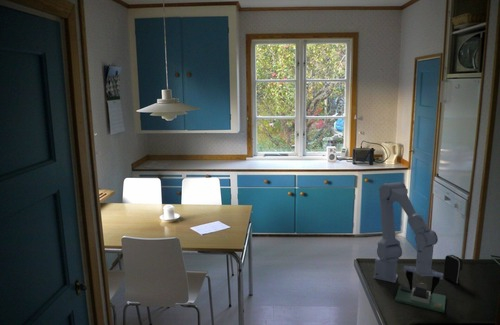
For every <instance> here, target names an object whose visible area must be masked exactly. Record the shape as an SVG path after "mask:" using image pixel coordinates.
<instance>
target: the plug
mask: <svg viewBox="0 0 500 325" xmlns="http://www.w3.org/2000/svg"><path fill="white" fill-rule="evenodd" d="M415 288H416V290H415V296H416V297H420V298H424V299H426V294H427V291H428V284H426V283H425V282H424V283H423V282H416V284H415Z"/></svg>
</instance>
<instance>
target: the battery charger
mask: <svg viewBox="0 0 500 325" xmlns="http://www.w3.org/2000/svg"><path fill="white" fill-rule="evenodd" d="M463 265H464V264H463V259H462V258H460V257H458V256H456V255H454V254H448V255H446V256H445V257H444V266H443V267H444V269H443V279H445V280H446V281H447V280H448V281H449V282H451V283H452V284H459V283H460V273H461V271H462V270H463Z"/></svg>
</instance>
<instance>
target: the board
mask: <svg viewBox="0 0 500 325" xmlns="http://www.w3.org/2000/svg"><path fill="white" fill-rule="evenodd" d="M415 290H416V287H412V290H410V286H409V287H408V286H405V285H399V286H398V289H397V291H396V296H395V298H394V300H395V302H398V303H402V304H405V305H410V306H411V305H412V306H414V307H418V308H424V309H427V310H432V311H435V312H439V313H443V314H444V313H445V310H446V309H445V308H446V297H447V296H446V295H444V294H439V293H434V292H433V294H432V295H430V294H431V290H430V291H429V290H427V294H426V299H424V298H420V297H416V296H415Z"/></svg>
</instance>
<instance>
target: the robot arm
mask: <svg viewBox="0 0 500 325" xmlns="http://www.w3.org/2000/svg"><path fill="white" fill-rule="evenodd" d="M378 193H379V194H378V195H379V204H380V205H379V207H380V208H379V209H380V219H381V233H382V234H381V235H382V238H381V239H380V240H379V241H378V243H377V248H376V255H377V256H376V257H375V260H374V269H373V271H374V272H373V279H375V280H381V281H385V282H390V283H394V284H396V282H397V279H398V277H399V275H398V274H397V270H398V261H399V260H400V258H401V257H402V256H403V248H402V246H401V241H400V240H398V239H397V238H396V228H395V227H396V226H395V215H394V214H395V212H394V203H395V202H396V203H398V204H399V205H400V207H401V208H402V210H403V211H404V213H405V214H406V216H407V218H408V219H407V224H409V227H410V228H411V230H412V231H413V233H414V235H415V236H414V242H415V244H416V259H415V260H416V261H415V266H413V265H412V266H410V265H404V266H403V270H402V272H404V273H405V276H406V279H407V282H408V285H409V288H410V290H412V288H413V283H414V282H413V278H414V274H416V275H419V276H420V277H431V278H432V280H431V289H430V292H431V294H430V295H432V294H433V293H434V290H435V289H436V287H437V285H438V284H439V283H440V280H442V281H443V280H444V272H439V271H437V270H434V269H432V264H433V255H434V245H436V244H437V243H438V241H439V240H438V235H437V233H436V232H435V231H434V230H432V229H431V228H430V227H429V226H428V224H427V223H426V221H425V220H424V218H423V216H422V215H421V214H419V213H417V212H416V210H415V208H414V205H413V203H412V202H411V200H410V198H409V196H408V193H409V189H408V188H407V186H406V184H405V182H403V181H399V182H391V183H389V182H388V183H382V184H381V185H380V186H379V188H378Z"/></svg>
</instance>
